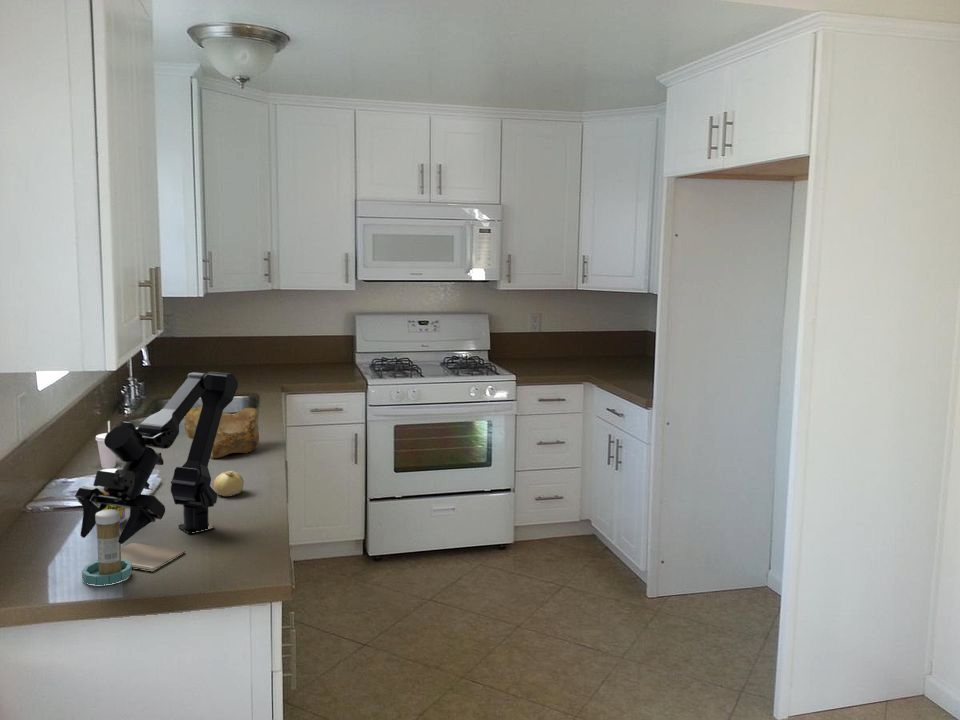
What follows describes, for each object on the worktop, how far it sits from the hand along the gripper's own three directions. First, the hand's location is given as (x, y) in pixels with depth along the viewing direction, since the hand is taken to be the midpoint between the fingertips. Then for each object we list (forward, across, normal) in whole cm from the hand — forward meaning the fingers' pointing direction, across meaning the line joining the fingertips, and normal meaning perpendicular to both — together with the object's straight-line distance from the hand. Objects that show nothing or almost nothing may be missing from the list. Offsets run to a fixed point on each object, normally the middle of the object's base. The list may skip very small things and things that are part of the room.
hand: (101, 539), depth 167 cm
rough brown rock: (-57, -32, +70) cm, 96 cm away
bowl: (+5, 0, +7) cm, 9 cm away
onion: (-34, -8, +46) cm, 58 cm away
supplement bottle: (-13, -22, +26) cm, 36 cm away
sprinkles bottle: (+5, +1, +7) cm, 8 cm away
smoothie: (-40, -54, +52) cm, 85 cm away
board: (-2, 0, +14) cm, 15 cm away
